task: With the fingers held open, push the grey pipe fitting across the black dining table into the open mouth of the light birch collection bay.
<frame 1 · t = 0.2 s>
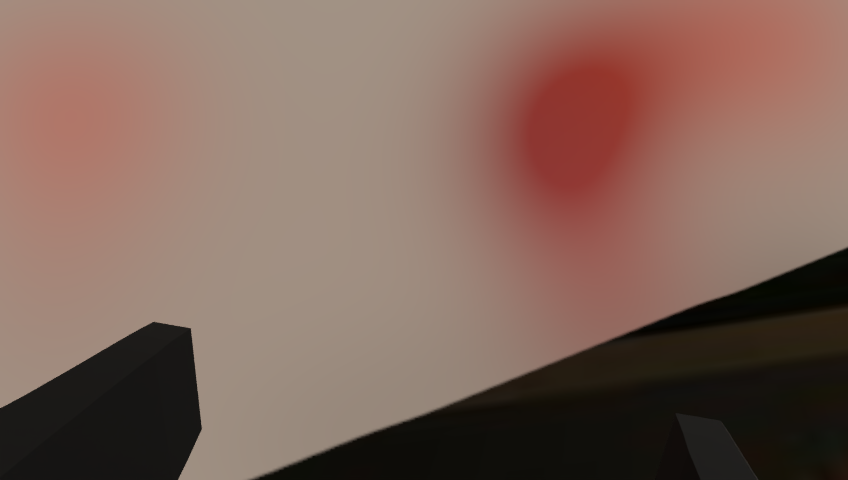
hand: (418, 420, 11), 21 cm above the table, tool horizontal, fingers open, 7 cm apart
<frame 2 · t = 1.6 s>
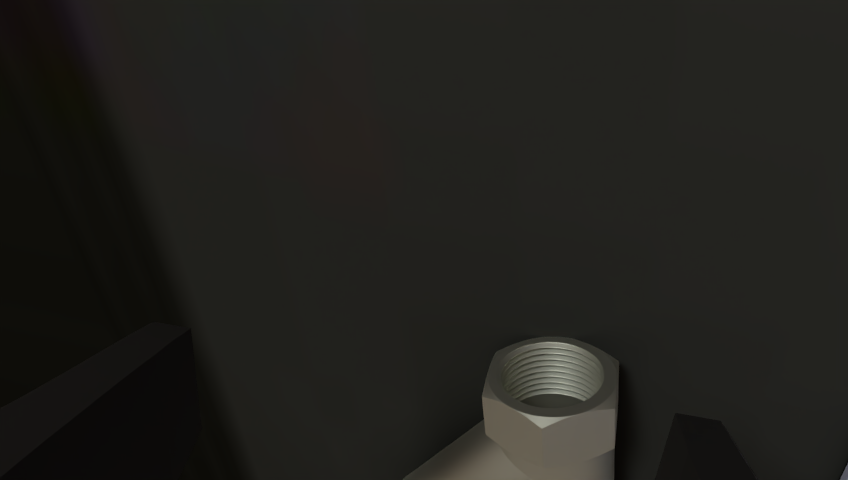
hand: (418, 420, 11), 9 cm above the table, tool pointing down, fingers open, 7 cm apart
pipe fitting: (506, 430, 24), on the table
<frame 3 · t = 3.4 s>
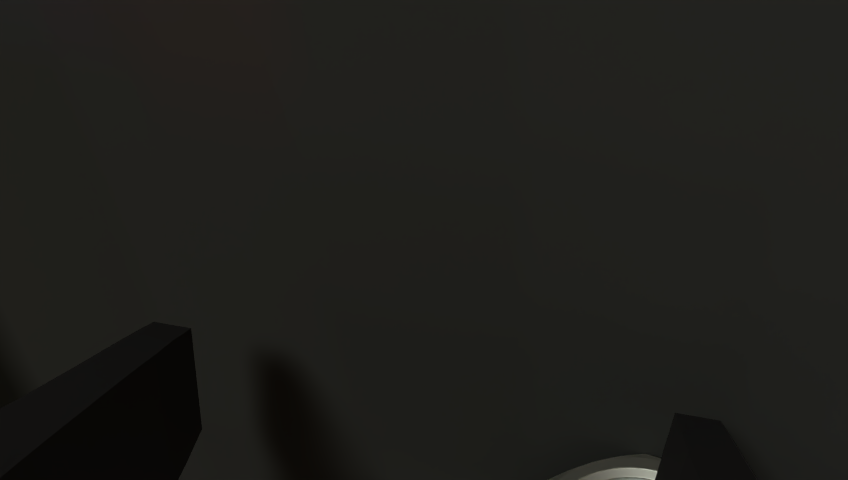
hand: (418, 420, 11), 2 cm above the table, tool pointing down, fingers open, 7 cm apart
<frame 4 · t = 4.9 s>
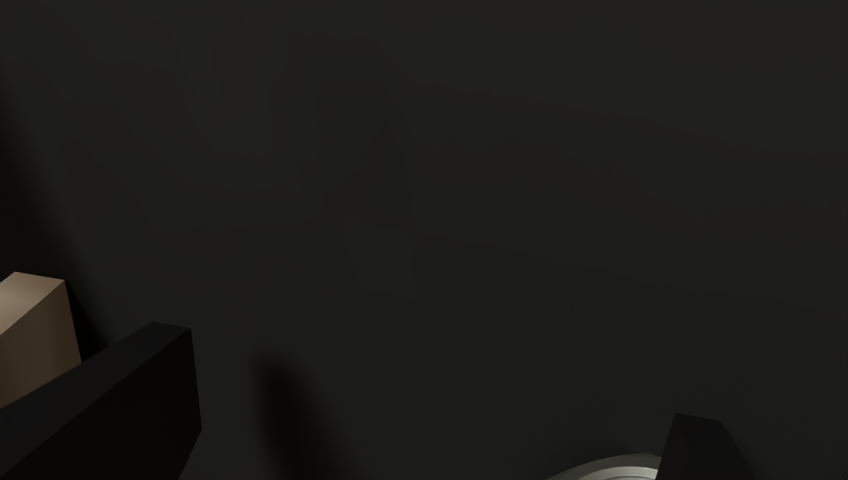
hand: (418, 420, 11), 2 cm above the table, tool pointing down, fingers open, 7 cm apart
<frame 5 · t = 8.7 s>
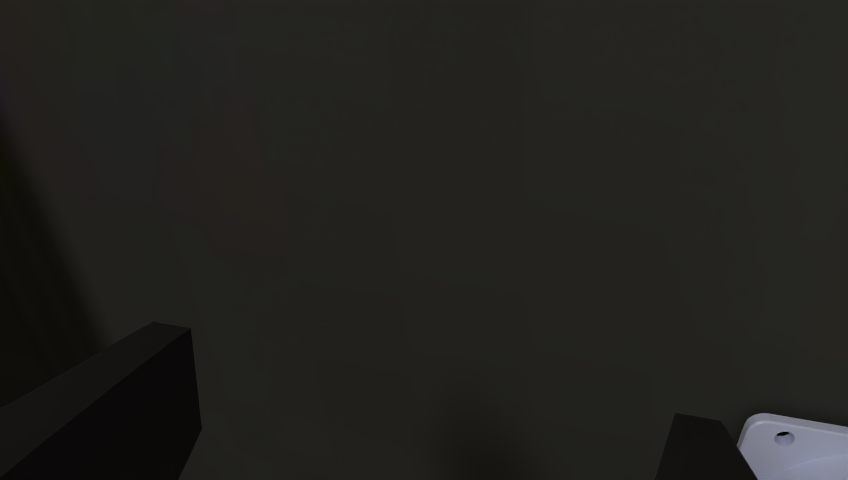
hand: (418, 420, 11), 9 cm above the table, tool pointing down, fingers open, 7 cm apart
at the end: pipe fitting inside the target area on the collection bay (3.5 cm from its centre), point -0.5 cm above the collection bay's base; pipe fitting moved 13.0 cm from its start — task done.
